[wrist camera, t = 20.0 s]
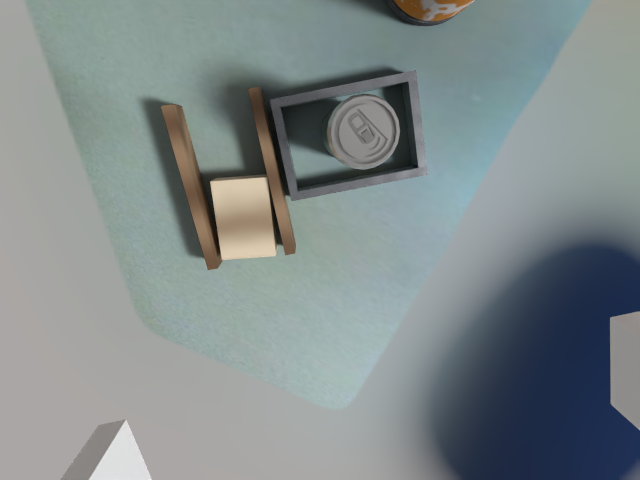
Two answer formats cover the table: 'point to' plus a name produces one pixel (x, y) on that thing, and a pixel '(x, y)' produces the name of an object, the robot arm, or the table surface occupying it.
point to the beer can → (361, 131)
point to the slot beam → (196, 188)
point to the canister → (428, 10)
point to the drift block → (244, 216)
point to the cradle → (405, 79)
